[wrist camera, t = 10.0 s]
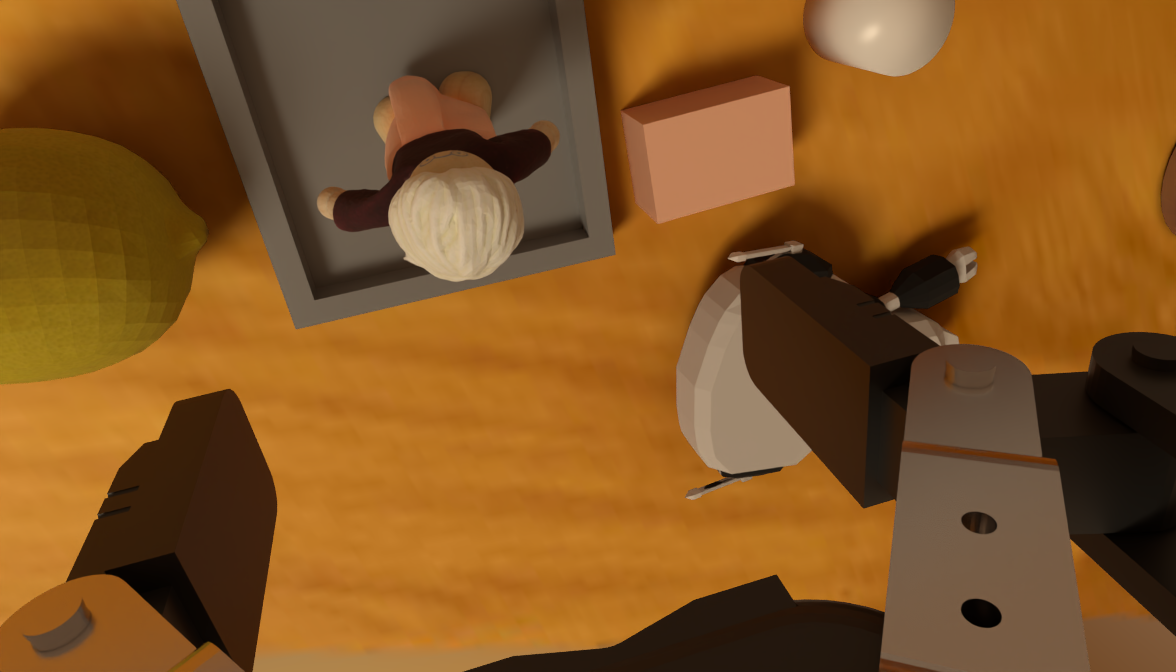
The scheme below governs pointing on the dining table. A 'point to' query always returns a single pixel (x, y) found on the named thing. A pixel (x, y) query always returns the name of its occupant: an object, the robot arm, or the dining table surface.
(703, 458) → the robot toy
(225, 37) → the tray
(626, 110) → the terracotta block
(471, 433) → the dining table surface
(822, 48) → the white rounded cylinder block
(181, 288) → the lemon
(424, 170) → the grandmother figurine
